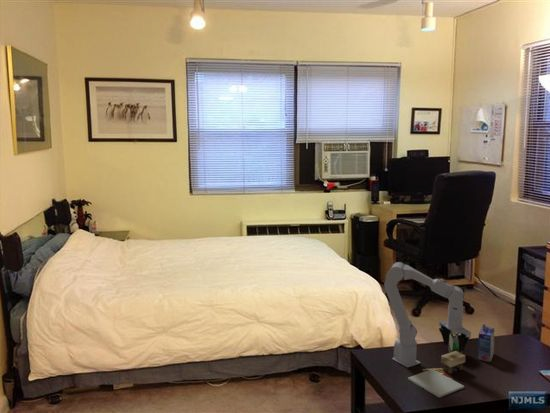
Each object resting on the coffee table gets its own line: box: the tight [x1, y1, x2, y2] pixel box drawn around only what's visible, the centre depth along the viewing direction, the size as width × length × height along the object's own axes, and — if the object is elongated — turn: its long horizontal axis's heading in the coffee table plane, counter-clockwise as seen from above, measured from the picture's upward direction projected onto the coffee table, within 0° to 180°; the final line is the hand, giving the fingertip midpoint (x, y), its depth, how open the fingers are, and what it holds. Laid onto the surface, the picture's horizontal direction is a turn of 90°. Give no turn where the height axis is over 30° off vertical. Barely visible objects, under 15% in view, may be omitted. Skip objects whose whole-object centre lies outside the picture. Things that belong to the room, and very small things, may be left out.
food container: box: [448, 330, 463, 354], centre depth 213 cm, size 12×6×10 cm, turn 168°
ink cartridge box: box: [477, 323, 495, 363], centre depth 210 cm, size 10×6×14 cm, turn 148°
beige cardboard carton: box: [440, 351, 466, 375], centre depth 198 cm, size 5×9×6 cm, turn 120°
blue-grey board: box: [407, 368, 465, 398], centre depth 188 cm, size 16×14×1 cm
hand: (453, 347), depth 197 cm, fingers open, 7 cm apart
